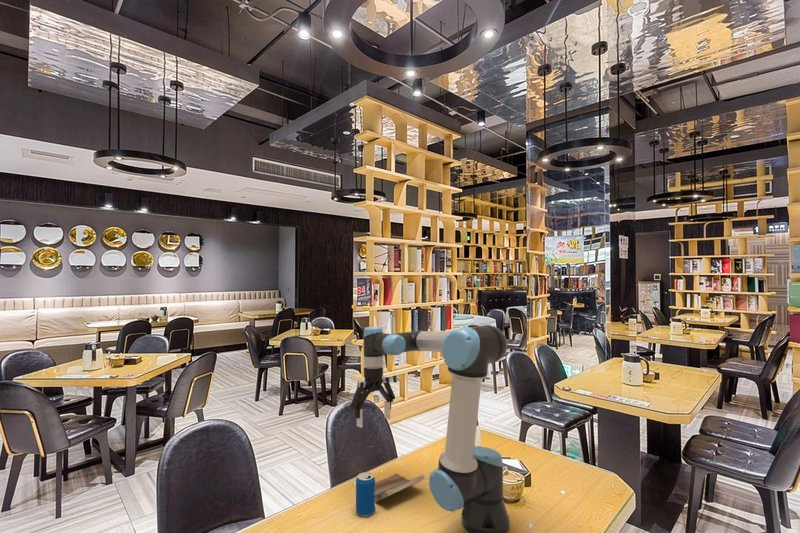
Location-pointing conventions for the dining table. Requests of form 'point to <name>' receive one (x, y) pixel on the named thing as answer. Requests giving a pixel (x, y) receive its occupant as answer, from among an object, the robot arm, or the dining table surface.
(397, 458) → the dining table surface
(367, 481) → the beverage can
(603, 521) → the dining table surface
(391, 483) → the walnut board
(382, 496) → the plank
